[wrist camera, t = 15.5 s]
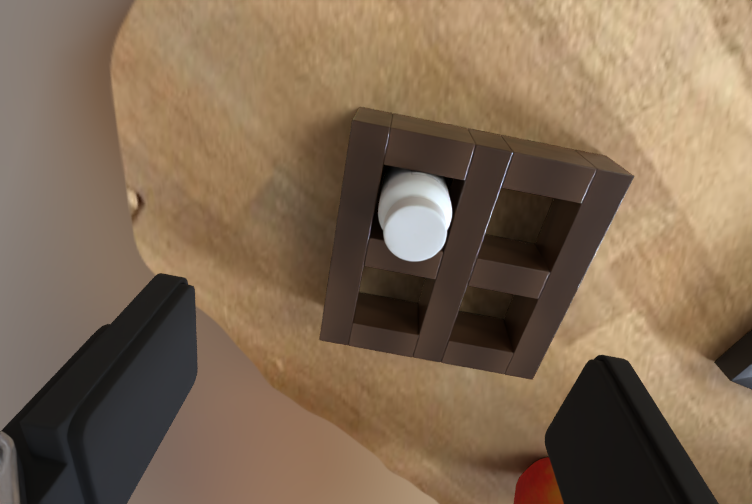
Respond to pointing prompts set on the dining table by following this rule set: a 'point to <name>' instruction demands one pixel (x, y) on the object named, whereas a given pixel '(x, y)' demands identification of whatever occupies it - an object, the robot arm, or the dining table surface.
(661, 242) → the dining table surface
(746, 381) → the picture frame
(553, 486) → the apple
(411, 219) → the pill bottle
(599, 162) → the grid rack
